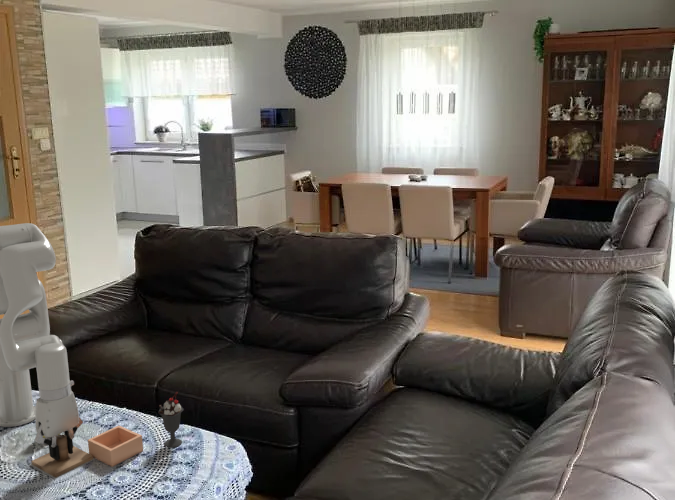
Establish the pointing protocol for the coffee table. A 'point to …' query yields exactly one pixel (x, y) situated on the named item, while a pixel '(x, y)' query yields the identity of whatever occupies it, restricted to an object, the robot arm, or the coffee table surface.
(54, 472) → the lid
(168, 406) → the sundae
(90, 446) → the open wooden box
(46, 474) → the mat
